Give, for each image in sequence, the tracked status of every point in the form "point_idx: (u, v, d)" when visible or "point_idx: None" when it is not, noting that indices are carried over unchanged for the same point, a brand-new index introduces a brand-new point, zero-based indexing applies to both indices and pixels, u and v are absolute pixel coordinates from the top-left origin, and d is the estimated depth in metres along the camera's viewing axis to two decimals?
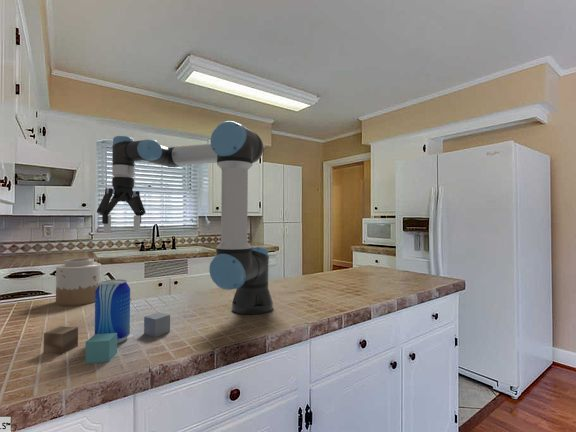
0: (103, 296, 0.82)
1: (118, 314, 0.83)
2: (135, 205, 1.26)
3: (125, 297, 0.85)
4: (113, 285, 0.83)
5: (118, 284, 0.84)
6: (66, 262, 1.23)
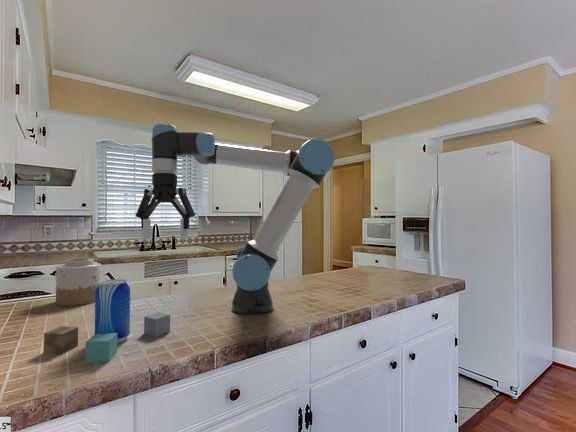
0: (103, 296, 0.82)
1: (118, 314, 0.83)
2: (176, 206, 0.99)
3: (125, 297, 0.85)
4: (113, 285, 0.83)
5: (118, 284, 0.84)
6: (66, 262, 1.23)
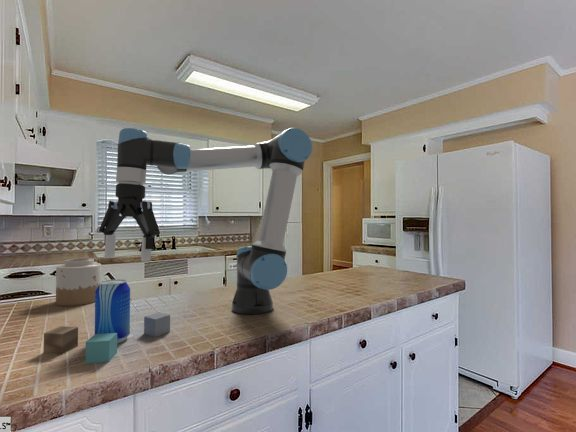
0: (103, 296, 0.82)
1: (118, 314, 0.83)
2: (138, 222, 0.86)
3: (125, 297, 0.85)
4: (113, 285, 0.83)
5: (118, 284, 0.84)
6: (66, 262, 1.23)
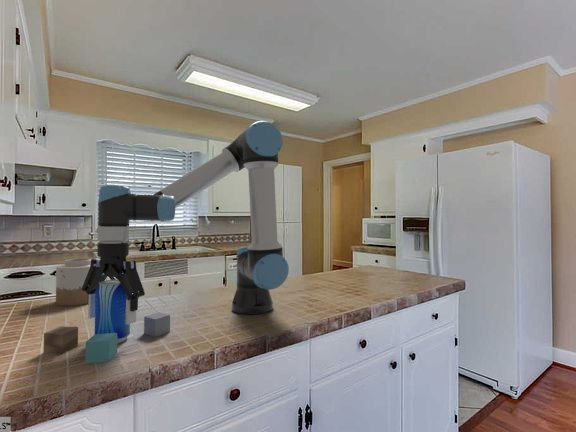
0: (103, 296, 0.82)
1: (118, 314, 0.83)
2: (122, 283, 0.83)
3: (125, 297, 0.85)
4: (113, 285, 0.83)
5: (118, 284, 0.84)
6: (66, 262, 1.23)
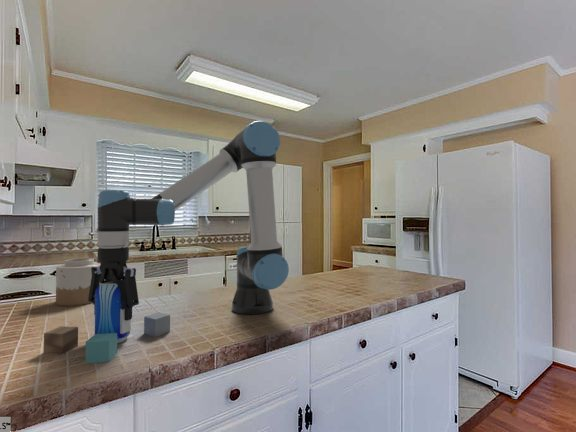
0: (103, 296, 0.82)
1: (118, 314, 0.83)
2: None
3: None
4: (113, 285, 0.83)
5: None
6: (66, 262, 1.23)
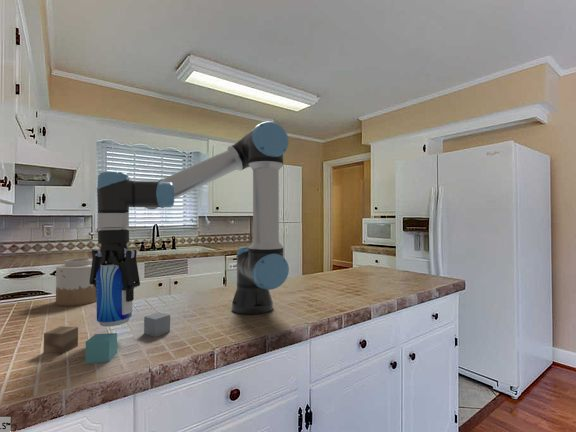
0: (104, 277, 0.82)
1: (119, 295, 0.83)
2: None
3: None
4: (114, 266, 0.83)
5: None
6: (66, 262, 1.23)
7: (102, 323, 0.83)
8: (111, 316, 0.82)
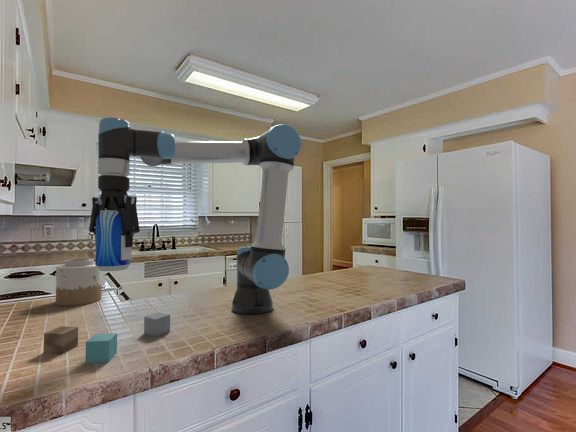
0: (103, 221, 0.82)
1: (119, 240, 0.83)
2: None
3: None
4: (114, 212, 0.84)
5: None
6: (66, 262, 1.23)
7: (101, 267, 0.83)
8: (110, 260, 0.82)
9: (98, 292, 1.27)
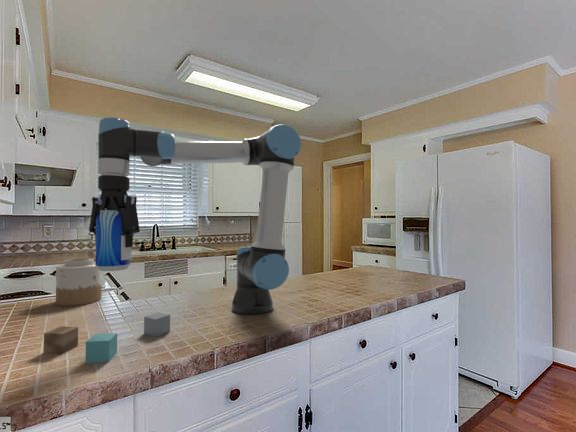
0: (103, 221, 0.82)
1: (119, 240, 0.83)
2: None
3: None
4: (114, 212, 0.84)
5: None
6: (66, 262, 1.23)
7: (101, 267, 0.83)
8: (110, 260, 0.82)
9: (98, 292, 1.27)
